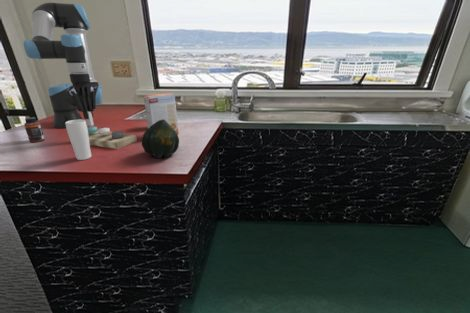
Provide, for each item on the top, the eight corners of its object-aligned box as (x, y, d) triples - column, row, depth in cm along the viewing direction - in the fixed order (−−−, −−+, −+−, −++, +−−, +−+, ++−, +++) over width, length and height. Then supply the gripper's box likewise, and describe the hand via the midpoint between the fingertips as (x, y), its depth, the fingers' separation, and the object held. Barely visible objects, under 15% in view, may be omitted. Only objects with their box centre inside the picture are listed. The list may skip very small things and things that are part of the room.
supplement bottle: (48, 139, 121) (41, 117, 117) (35, 143, 116) (27, 119, 112) (39, 138, 123) (32, 116, 119) (26, 142, 118) (18, 118, 114)
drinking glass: (79, 155, 102) (70, 119, 97) (96, 154, 103) (88, 119, 97) (71, 161, 96) (60, 123, 90) (89, 161, 96) (80, 123, 91)
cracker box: (172, 132, 134) (169, 92, 126) (179, 134, 130) (175, 93, 122) (148, 137, 125) (142, 95, 117) (154, 140, 121) (148, 96, 113)
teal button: (83, 132, 118) (82, 128, 117) (92, 129, 123) (91, 125, 122) (91, 133, 117) (90, 129, 116) (100, 130, 121) (99, 126, 120)
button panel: (75, 142, 118) (73, 135, 116) (96, 135, 128) (95, 129, 127) (117, 149, 109) (116, 142, 108) (136, 141, 119) (135, 134, 118)
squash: (136, 151, 91) (160, 118, 91) (134, 140, 104) (155, 112, 104) (168, 169, 98) (190, 139, 98) (162, 158, 111) (182, 131, 111)
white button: (96, 134, 116) (95, 130, 115) (104, 131, 120) (104, 127, 119) (104, 135, 114) (103, 131, 113) (112, 132, 118) (112, 128, 117)
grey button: (109, 137, 113) (108, 133, 112) (117, 134, 118) (117, 130, 117) (118, 138, 112) (117, 134, 111) (126, 135, 116) (125, 131, 115)
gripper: (71, 74, 103) (84, 129, 111) (97, 72, 114) (107, 122, 123) (58, 73, 105) (72, 127, 114) (85, 72, 116) (96, 121, 125)
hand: (90, 125), depth 118 cm, fingers closed
